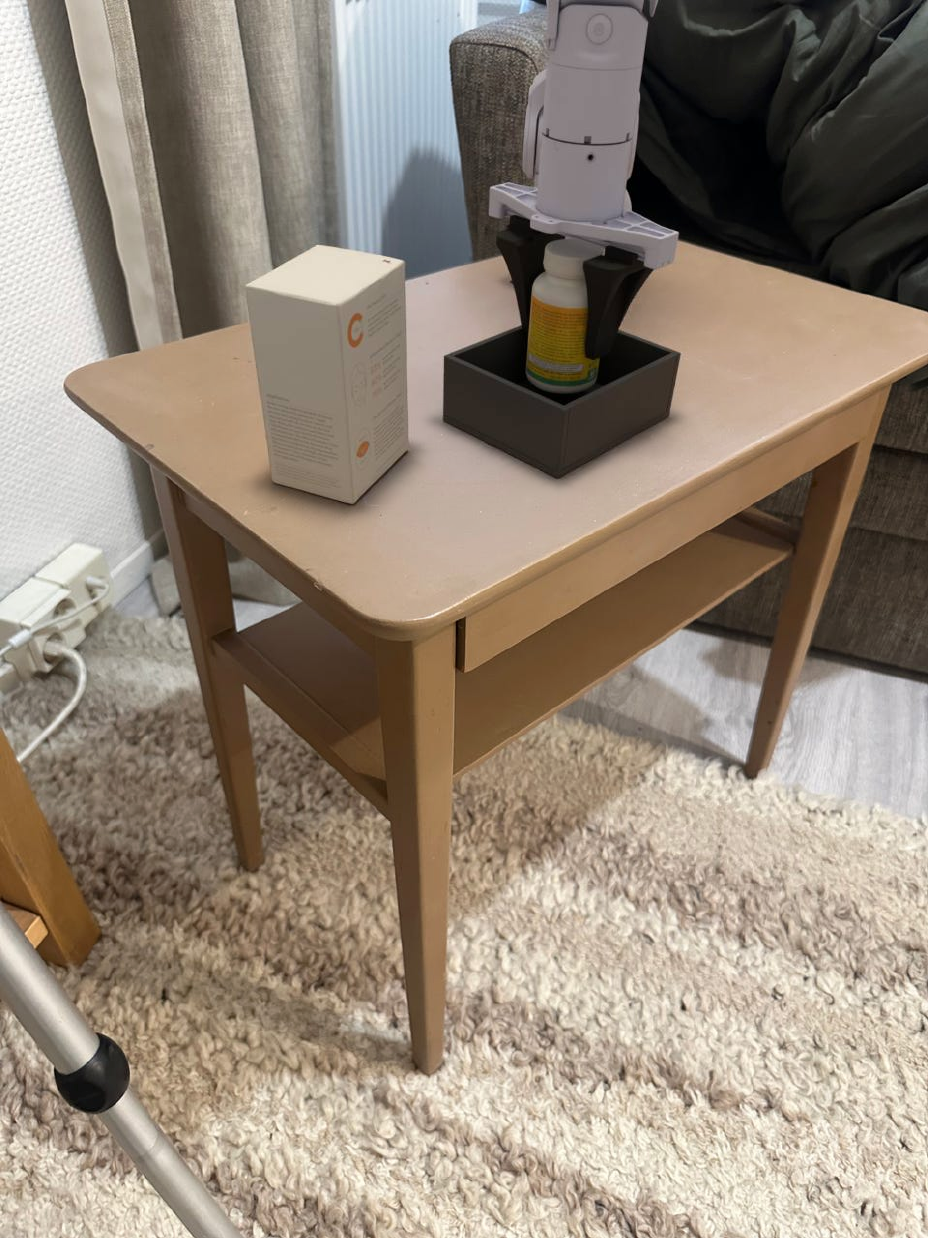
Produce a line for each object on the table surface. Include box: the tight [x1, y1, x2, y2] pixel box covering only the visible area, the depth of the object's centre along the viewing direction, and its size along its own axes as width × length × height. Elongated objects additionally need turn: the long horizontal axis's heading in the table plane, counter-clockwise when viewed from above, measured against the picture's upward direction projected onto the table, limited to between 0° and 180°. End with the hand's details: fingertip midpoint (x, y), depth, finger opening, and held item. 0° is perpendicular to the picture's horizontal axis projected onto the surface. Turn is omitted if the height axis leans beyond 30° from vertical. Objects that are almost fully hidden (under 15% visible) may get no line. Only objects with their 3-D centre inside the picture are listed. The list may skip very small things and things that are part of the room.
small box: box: [244, 244, 410, 505], centre depth 56 cm, size 8×6×13 cm
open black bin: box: [442, 325, 682, 479], centre depth 65 cm, size 13×11×5 cm
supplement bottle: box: [526, 239, 604, 394], centre depth 64 cm, size 5×5×10 cm
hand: (565, 341), depth 65 cm, fingers closed on supplement bottle, 5 cm apart
